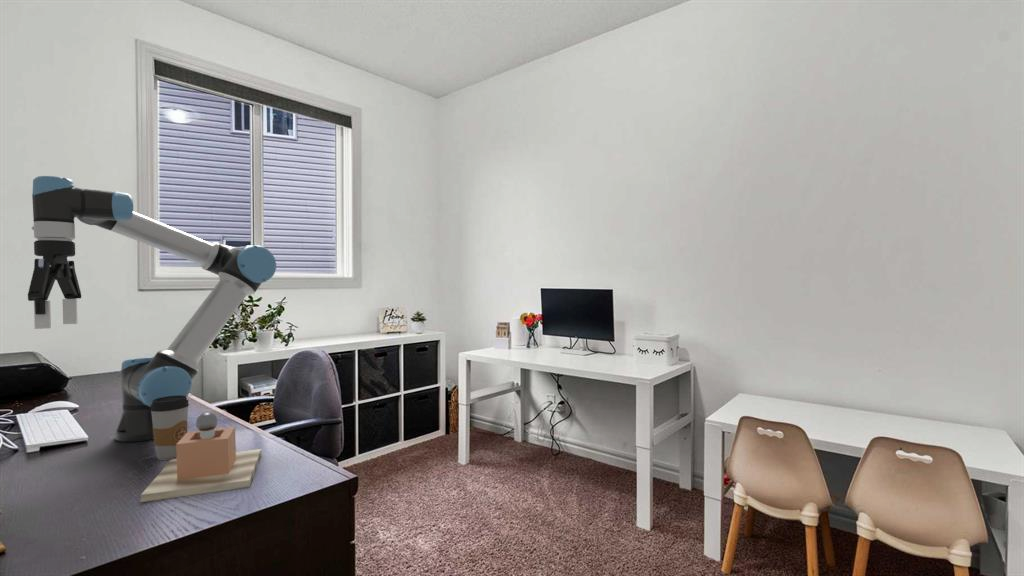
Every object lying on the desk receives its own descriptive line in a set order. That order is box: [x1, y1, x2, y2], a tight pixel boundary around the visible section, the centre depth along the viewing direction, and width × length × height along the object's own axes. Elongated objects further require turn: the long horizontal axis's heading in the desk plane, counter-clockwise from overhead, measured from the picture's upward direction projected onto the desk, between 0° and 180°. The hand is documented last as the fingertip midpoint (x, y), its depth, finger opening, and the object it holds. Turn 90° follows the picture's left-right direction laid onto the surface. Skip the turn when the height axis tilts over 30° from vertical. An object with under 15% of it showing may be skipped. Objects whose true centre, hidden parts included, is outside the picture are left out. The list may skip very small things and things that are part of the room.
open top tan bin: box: [176, 426, 237, 480], centre depth 117 cm, size 10×10×8 cm
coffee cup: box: [150, 395, 190, 461], centre depth 130 cm, size 8×8×15 cm
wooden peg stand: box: [140, 411, 262, 503], centre depth 117 cm, size 22×20×15 cm
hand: (57, 326), depth 124 cm, fingers open, 13 cm apart
